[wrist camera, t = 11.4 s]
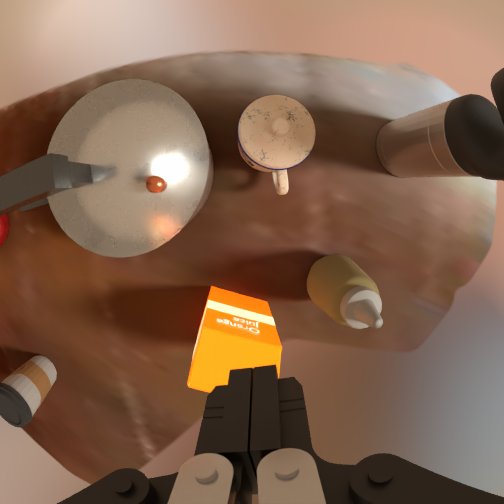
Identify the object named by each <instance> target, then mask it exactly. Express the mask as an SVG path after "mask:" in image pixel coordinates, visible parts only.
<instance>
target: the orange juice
mask: <svg viewBox="0 0 504 504" xmlns="http://www.w3.org/2000/svg"><path fill="white" fill-rule="evenodd" d="M281 350H282V346H281V343H280V340H279V337H278V334H277V331H276V327H275V323H274V320H273V317H272V315H271V312H270V309H269V305H268V302H266V301H263V300H259V299H255V298H252V297H248V296H245V295H241V294H237V293H234V292H230V291H227V290H223V289H220V288H216V287H213V286H211V289H210V292H209V296H208V299H207V303H206V306H205V310H204V313H203V317H202V320H201V324H200V327H199V331H198V336H197V340H196V344H195V348H194V353H193V357H192V358H193V359H192V364H191V368H190V373H189V378H188V383H187V384H188V386H189V387H190V388H194V389H198V390H202V391H206V392H211V391H212V390H213V389H214V387H215V386H217V385H228V378H229V372H230V370H231V369H241V368H250V367H252V368H253V369H254V367H258V366H266V365H274V364H276V367H277V372H278V378H279V370H280V358H281Z"/></svg>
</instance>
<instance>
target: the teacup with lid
mask: <svg viewBox="0 0 504 504" xmlns="http://www.w3.org/2000/svg"><path fill="white" fill-rule="evenodd" d="M237 138H238V148H239V151H240V154H241V156H242V158H243V159H244V160H245V162H246V163H247V164H248V165H250V166H251V167H253V168H254V169H256V170H259V171H262V172H272V178H273V183H274V187H275V190H276V192H277V193H278V194H279V195H284V194H286V193H287V192H288V177H287V170H286V169H290V168H292V167H295V166H297V165H299V164H300V163H302V162H303V161H304V160H305V159H306V158H307V157H308V156H309V154H310V153H311V151H312V149H313V146H314V143H315V138H316V130H315V125H314V122H313V119H312V117H311V115H310V113H309V112H308V111H307V109H306V108H305V107H304V106H303V105H302V104H300V103H299V102H297V101H296V100H294V99H292V98H289V97H286V96H282V95H268V96H263V97H260V98H258V99H256V100H254V101H253V102H251V103H250V104H249V105H248V106H247V107H246V108H245V109H244V110H243V112H242V114H241V115H240V118H239V121H238V125H237Z"/></svg>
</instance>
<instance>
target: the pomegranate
mask: <svg viewBox="0 0 504 504" xmlns="http://www.w3.org/2000/svg"><path fill="white" fill-rule="evenodd" d="M8 232H9V219H8V214H4V215H2V216H0V247H1V246H2V245H3V243H4V241H5V239H6V237H7V235H8Z"/></svg>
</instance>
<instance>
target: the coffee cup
mask: <svg viewBox="0 0 504 504" xmlns="http://www.w3.org/2000/svg"><path fill="white" fill-rule="evenodd" d="M56 375H57V373H56V369H55V367H54V365H53V364H52V362H51V361H50V360H49V359H47V358H46V357H44V356H41V355H38V356H34V357H33V358H31V359H30V360H29V361H27V362H25V363H24V364H23V365H22V366H20V367H19V368H18V369H17V370H15V371H14V372H13V373H12V374H10V375H9V376H8V378H6V379H5V380H4V381H3V382H1V383H0V415H1V416H2V418H3V419H5V420H6V421H7V422H8V423H10V424H11V425H13V426H15V427H22V426H24V425H27V424H28V423H29V422H30V421H31V420H32V416H33V415H34V413H35V411H36V410H37V409H38V408H39V406H40V404H41V403H42V401H43V400H44V398H45V396H46V395H47V393H48V392H49V390H50V389H51V386H52V385H53V383H54V382H55V380H56Z"/></svg>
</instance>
